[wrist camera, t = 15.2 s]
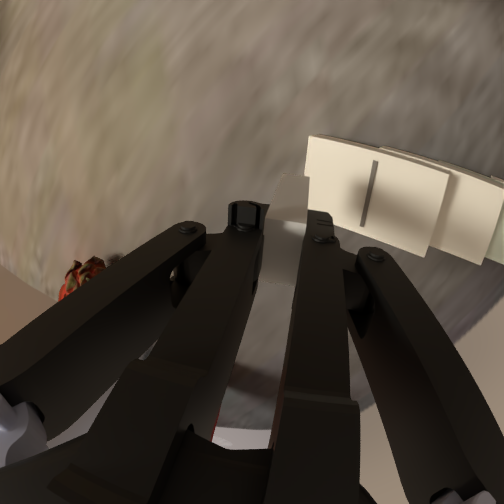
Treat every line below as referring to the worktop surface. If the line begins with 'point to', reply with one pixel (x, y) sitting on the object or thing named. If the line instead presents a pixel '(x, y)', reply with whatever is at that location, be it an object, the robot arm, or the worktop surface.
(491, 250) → the domino
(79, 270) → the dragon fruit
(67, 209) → the worktop surface
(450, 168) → the domino
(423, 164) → the domino
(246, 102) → the worktop surface
